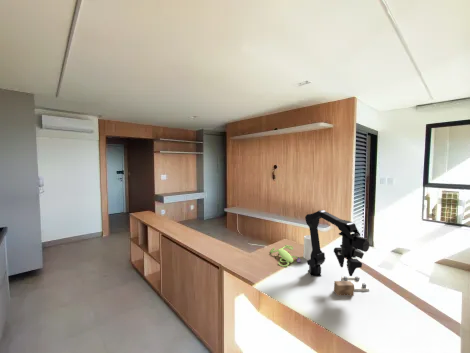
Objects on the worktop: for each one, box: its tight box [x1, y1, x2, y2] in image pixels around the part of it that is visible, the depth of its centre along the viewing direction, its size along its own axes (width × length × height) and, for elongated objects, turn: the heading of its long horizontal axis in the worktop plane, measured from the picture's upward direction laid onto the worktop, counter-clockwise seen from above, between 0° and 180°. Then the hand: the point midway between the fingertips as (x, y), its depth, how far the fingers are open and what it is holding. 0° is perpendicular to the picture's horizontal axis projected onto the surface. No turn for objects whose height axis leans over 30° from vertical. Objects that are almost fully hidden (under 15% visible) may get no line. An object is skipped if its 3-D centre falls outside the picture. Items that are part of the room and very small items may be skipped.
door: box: [333, 280, 355, 296], centre depth 121 cm, size 10×4×6 cm, turn 90°
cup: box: [302, 234, 312, 261], centre depth 162 cm, size 8×8×16 cm
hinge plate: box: [340, 276, 370, 292], centre depth 128 cm, size 11×10×3 cm
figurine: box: [269, 244, 302, 268], centre depth 163 cm, size 18×27×6 cm
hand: (346, 271), depth 121 cm, fingers open, 9 cm apart
